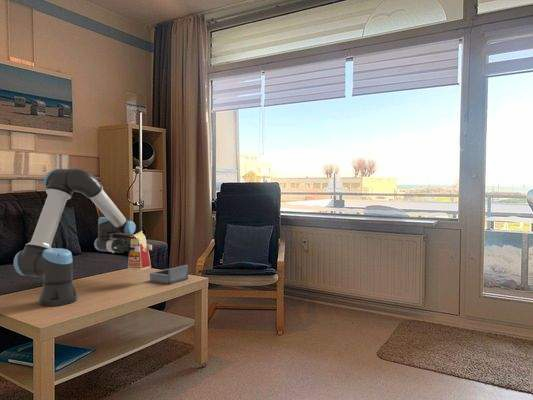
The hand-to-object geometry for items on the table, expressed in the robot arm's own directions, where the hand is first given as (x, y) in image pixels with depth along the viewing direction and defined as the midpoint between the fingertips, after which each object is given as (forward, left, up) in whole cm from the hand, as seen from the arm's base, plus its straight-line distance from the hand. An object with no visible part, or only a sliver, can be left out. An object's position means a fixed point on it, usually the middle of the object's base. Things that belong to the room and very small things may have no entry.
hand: (145, 248), depth 211 cm
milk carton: (0, +5, -11) cm, 12 cm away
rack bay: (+13, -4, -19) cm, 23 cm away
